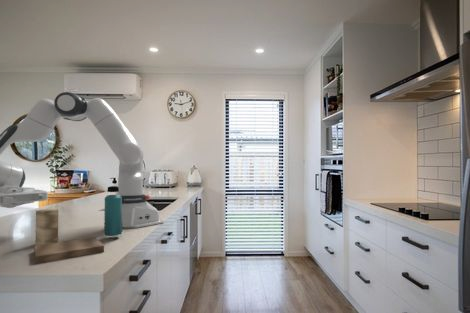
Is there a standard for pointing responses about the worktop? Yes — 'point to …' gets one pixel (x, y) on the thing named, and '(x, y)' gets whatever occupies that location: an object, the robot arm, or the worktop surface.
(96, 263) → the worktop surface
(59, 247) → the walnut board
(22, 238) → the worktop surface
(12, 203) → the robot arm
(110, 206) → the beverage bottle
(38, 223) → the oak block
